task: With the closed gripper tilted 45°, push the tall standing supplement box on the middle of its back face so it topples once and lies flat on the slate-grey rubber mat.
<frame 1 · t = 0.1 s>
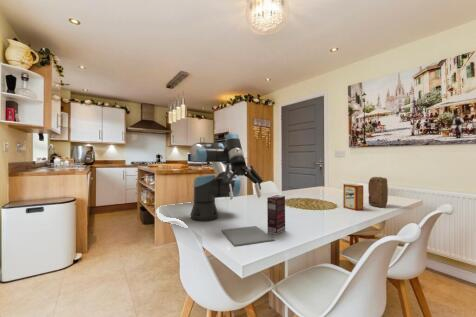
hand: (246, 197, 98), 15 cm above the table, tool tilted 35°, fingers open, 13 cm apart
supplement box: (276, 232, 98), on the table
block: (377, 206, 150), on the table
mat: (246, 235, 93), on the table
baking soda box: (353, 208, 142), on the table
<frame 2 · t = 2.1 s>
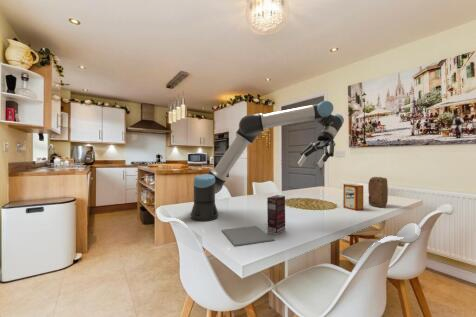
hand: (308, 165, 109), 30 cm above the table, tool tilted 45°, fingers open, 11 cm apart
nothing on the table moved.
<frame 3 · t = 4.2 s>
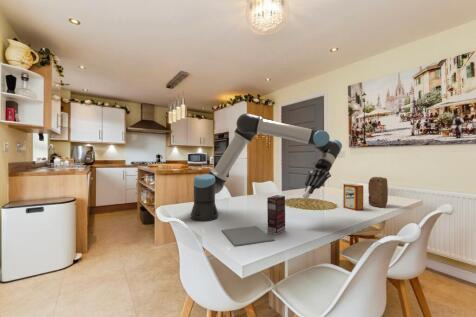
hand: (305, 197, 106), 14 cm above the table, tool tilted 45°, fingers closed
nothing on the table moved.
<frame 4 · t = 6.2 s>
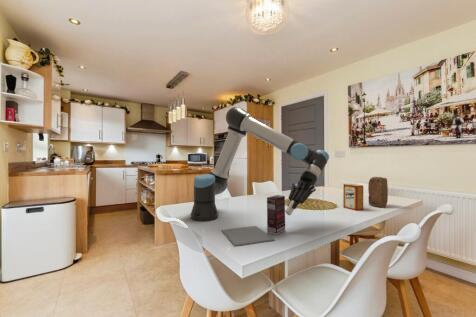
hand: (287, 213, 100), 8 cm above the table, tool tilted 45°, fingers closed
supplement box: (276, 232, 98), on the table, touching gripper
everything else where it was.
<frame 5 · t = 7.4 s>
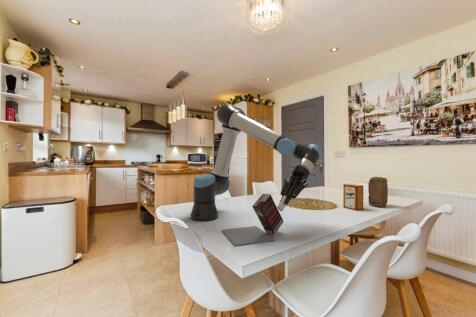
hand: (279, 209, 95), 11 cm above the table, tool tilted 45°, fingers closed
supplement box: (275, 228, 96), point 2 cm above the table, touching gripper
everything else where it was.
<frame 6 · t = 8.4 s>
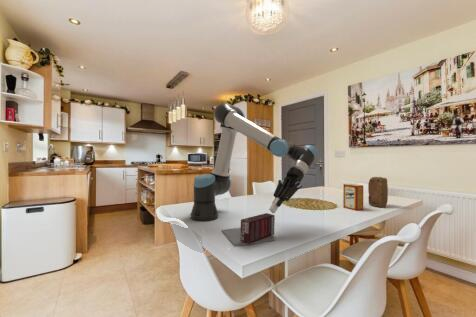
hand: (271, 211, 94), 10 cm above the table, tool tilted 45°, fingers closed
supplement box: (270, 223, 94), point 5 cm above the table, touching mat
everything else where it was.
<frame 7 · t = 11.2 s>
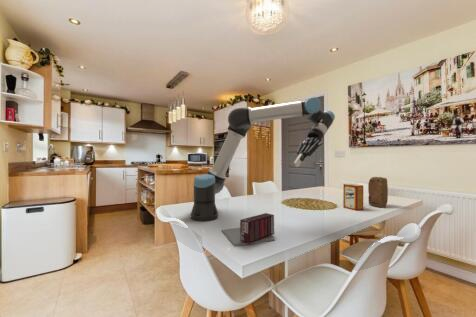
hand: (296, 164, 107), 30 cm above the table, tool tilted 45°, fingers closed
nothing on the table moved.
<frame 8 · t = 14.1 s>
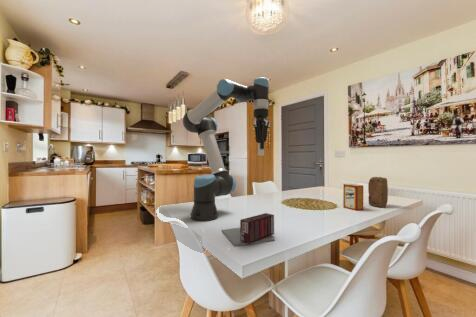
hand: (260, 155, 110), 34 cm above the table, tool pointing down, fingers closed
nothing on the table moved.
at the end: supplement box tilted 89°; supplement box touching mat; supplement box inside the target area (0.4 cm from its centre), point 4.8 cm above the table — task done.
